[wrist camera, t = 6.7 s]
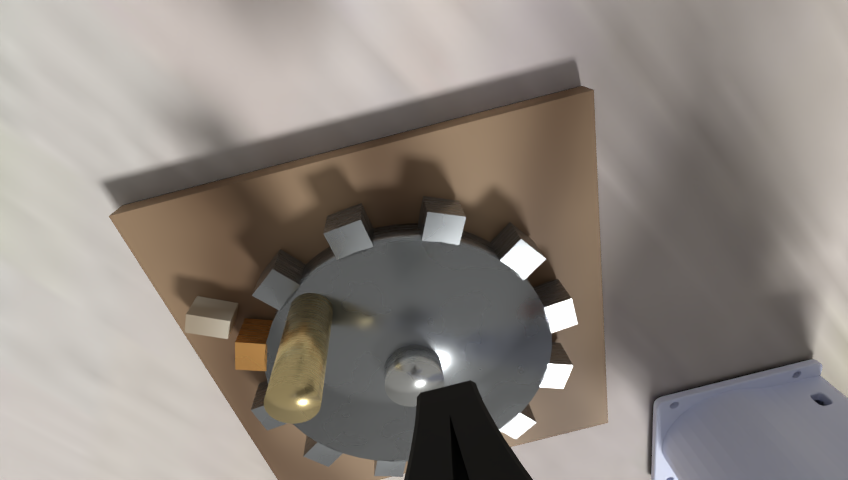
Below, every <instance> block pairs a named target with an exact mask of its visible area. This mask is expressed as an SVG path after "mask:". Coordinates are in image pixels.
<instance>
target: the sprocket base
mask: <svg viewBox="0 0 848 480" xmlns="http://www.w3.org/2000/svg"><path fill="white" fill-rule="evenodd" d="M423 196H427V197H435V198H442V199H450V200H457V201H459V202H460V204H461V207H462V209H463V211H464V213H465V215H466V220H465V224H464V228H463V231H466V232H469V233H472V234H474V235H477V236H479V237H481V238H483V239H485V240H487V241H489V242H491V241H492V240H493V239H494V238H495V237H496V236H497V235H498V234H499V233H500V231H501V230H502V229H503V228H504V227H505V226H506V225H507V224H508V223H509V222H511V223H512V224H513V225H514V226H516V227H517V228H518V229H519V230H521V231H522V232H523V233H524V234H526V235H527V236H528V237H529V238H530V239H532V240H533V241H534V242H535V244H536V245H537V247H538V248H539V250H540V251H541V252H542V254H543V255H544V257H545V258H546V260H544V261H543V262H542V263H541V264H540V265H539V266H538V267H537V268H536V269H535V270H534V271H533V272H532V273H531V274H530V275H529V276H528V277H527V278H528V280H529V281H530V283H531V285H532V287H535V286H538V285H541V284H544V283H546V282H549V281H552V280H555V279H559V281H560V282H561V284H562V285H563V287H564V288H565V290H566V291H567V292H568V294H569V295H570V297H571V298H572V302H573V306H574V310H575V315H576V319H577V323H578V324H576V325H573V326H570V327H567V328H564V329H561V330H558V331H555V332H552V342H556V343H561V345H562V347H563V348H564V350H565V352H566V354H567V355H568V357H569V359H570V361H571V362H572V364H573V367H572V369H571V372H570V374H569V376H568V379H567V381H566V383H565V386H564V388H563V389H561V388H544V387H540V388H539V390H538V391H537V393H536V394H535V396H534V397H533V399H532V400H531V401H530V403H529V405H530V408H531V410H532V413H533V415H534V418H535V420H536V423H535V424H534V425H533V426H532V427H530V428H529V429H528V430H527V431H525V432H524V433H523V434H522V435H521V436H519V437H518V438H517V439H514V438H512V437H510V436H509V435H507V434H505V433H503V432H501V431H500V432H501V434H502V435H503V437H504V439H505V440H506V442H507V443H508V445H509V446H510V447H512V446H516V445H520V444H525V443H529V442H533V441H537V440H541V439H545V438H549V437H553V436H557V435H561V434H565V433H569V432H573V431H577V430H581V429H585V428H589V427H593V426H597V425H601V424H605V423H608V410H607V387H606V364H605V341H604V317H603V294H602V271H601V248H600V225H599V202H598V179H597V156H596V133H595V109H594V90H592V89H589V88H586V87H583V86H579V87H576V88H572V89H568V90H564V91H560V92H556V93H553V94H549V95H545V96H541V97H537V98H533V99H530V100H526V101H522V102H518V103H514V104H510V105H507V106H503V107H499V108H495V109H491V110H487V111H483V112H480V113H476V114H472V115H468V116H464V117H460V118H457V119H453V120H449V121H445V122H441V123H437V124H434V125H430V126H426V127H422V128H418V129H414V130H411V131H407V132H403V133H399V134H395V135H391V136H387V137H384V138H380V139H376V140H372V141H368V142H364V143H361V144H357V145H353V146H349V147H345V148H341V149H338V150H334V151H330V152H326V153H322V154H318V155H315V156H311V157H307V158H303V159H299V160H295V161H291V162H288V163H284V164H280V165H276V166H272V167H268V168H265V169H261V170H257V171H253V172H249V173H245V174H242V175H238V176H234V177H230V178H226V179H222V180H218V181H215V182H211V183H207V184H203V185H199V186H195V187H192V188H188V189H184V190H180V191H176V192H172V193H169V194H165V195H161V196H157V197H153V198H149V199H146V200H142V201H138V202H134V203H130V204H126V205H123V206H121V207H120V208H119V209H117V210H116V211H115V212H114V213H112V214H111V215H110V216H109V217H110V219H111V220H112V222H113V223H114V225H115V227H116V228H117V230H118V231H119V233H120V234H121V236H122V238H123V239H124V241H125V242H126V244H127V245H128V247H129V248H130V250H131V252H132V253H133V255H134V256H135V258H136V259H137V261H138V262H139V264H140V266H141V267H142V269H143V270H144V272H145V273H146V275H147V276H148V278H149V280H150V281H151V283H152V284H153V286H154V287H155V289H156V291H157V292H158V294H159V295H160V297H161V298H162V300H163V301H164V303H165V305H166V306H167V308H168V309H169V311H170V312H171V314H172V315H173V317H174V319H175V320H176V322H177V323H178V325H179V326H180V328H181V329H182V331H183V333H184V334H185V336H186V337H187V339H188V340H189V342H190V344H191V345H192V347H193V348H194V350H195V351H196V353H197V354H198V356H199V358H200V359H201V361H202V362H203V364H204V365H205V367H206V368H207V370H208V372H209V373H210V375H211V376H212V378H213V379H214V381H215V382H216V384H217V386H218V387H219V389H220V390H221V392H222V393H223V395H224V396H225V398H226V400H227V401H228V403H229V404H230V406H231V407H232V409H233V411H234V412H235V414H236V415H237V417H238V418H239V420H240V421H241V423H242V425H243V426H244V428H245V429H246V431H247V432H248V434H249V435H250V437H251V439H252V440H253V442H254V443H255V445H256V446H257V448H258V449H259V451H260V453H261V454H262V456H263V457H264V459H265V460H266V462H267V464H268V465H269V467H270V468H271V470H272V471H273V473H274V474H275V476H276V478H277V479H278V480H380V479H384V478H388V477H392V476H374V460H370V459H364V458H358V457H354V456H351V455H347V454H342V455H341V456H340V457H339V458H338V459H337V460H335V461H334V462H333V463H332V464H331V465H330V466H329V467H327V466H325V465H323V464H320V463H318V462H315V461H313V460H311V459H308V458H306V457H303V455H304V449H305V442H306V436H307V435H305V434H304V433H303V432H301V431H300V430H299V429H298V428H297V427H296V426H294V425H293V424H290V423H288V424H285V425H282V426H279V427H276V428H273V429H270V430H266V429H265V427H264V426H263V425H262V424H261V422H260V421H259V420H258V419H257V417H256V416H255V415H254V414H253V412H252V411H251V407H252V404H253V401H254V398H255V394H256V391H257V388H258V385H259V384H260V383H262V382H265V381H267V378H266V374H265V371H252V370H235V341H236V339H237V336H238V334H239V331H240V329H241V327H242V324H243V322H244V319H245V318H248V319H261V320H273V319H274V316H275V313H276V308H274V307H272V306H270V305H268V304H266V303H265V302H263V301H261V300H259V299H257V298H255V297H254V296H252V294H253V292H254V289H255V287H256V285H257V282H258V280H259V277H260V275H261V273H262V272H263V271H264V269H265V268H266V267H267V266H268V264H269V263H270V262H271V261H272V259H273V258H274V257H275V255H276V254H277V253H278V252H279V250H280V249H281V250H283V251H284V252H286V253H288V254H289V255H291V256H293V257H294V258H296V259H297V260H299V261H301V262H302V263H304V264H307V263H308V262H309V261H310V260H312V259H313V258H314V257H315V256H317V255H318V254H319V253H320V252H322V251H323V250H325V249H327V248H328V247H330V245H329V244H328V242H327V240H326V238H325V236H324V234H323V232H324V228H325V223H326V219H327V216H328V215H331V214H334V213H336V212H339V211H342V210H344V209H347V208H350V207H352V206H355V205H358V204H360V203H362V205H363V207H364V209H365V211H366V214H367V216H368V218H369V220H370V222H371V224H372V226H373V228H377V227H383V226H388V225H394V224H408V223H418V220H419V214H420V209H421V204H422V199H423ZM407 464H408V461H406V465H405V469H404V473H406V469H407ZM404 473H403V474H404Z"/></svg>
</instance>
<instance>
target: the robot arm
mask: <svg viewBox="0 0 848 480" xmlns="http://www.w3.org/2000/svg"><path fill="white" fill-rule="evenodd" d="M821 371H822V364H821V363H819V362H818V361H817V360H814V359H811V360H806V361H802V362H798V363H794V364H790V365H786V366H782V367H778V368H774V369H770V370H766V371H762V372H758V373H754V374H750V375H746V376H742V377H738V378H734V379H730V380H726V381H722V382H718V383H714V384H710V385H706V386H702V387H698V388H694V389H690V390H686V391H682V392H678V393H674V394H670V395H666V396H662V397H659V398H658V399H656V400H655V402H654V405H653V437H652V470H651V479H652V480H848V398H847V397H846V396H845V395H843V394H842V393H841V392H840V391H839V390H837V389H836V388H835V387H834V386H832V385H831V384H830V383H829V382H827V381H826V380H825V379H824V378H822V377H821V376H820V375H821ZM404 480H533V479H532V478H531V476H530V475H529V474H528V472H527V471H526V470H525V468H524V467H523V465H522V464H521V462H520V461H519V460H518V458H517V457H516V455H515V454H514V452H513V451H512V449H511V448H510V446H509V445H508V443H507V442H506V440H505V439H504V437H503V435H502V434H501V432H500V431H499V429H498V427H497V426H496V424H495V422H494V420H493V419H492V417H491V415H490V413H489V411H488V410H487V408H486V406H485V404H484V402H483V400H482V397H481V395H480V393H479V390H478V388H477V385H476V383H475V382H473V381H471V380H469V381H465V382H461V383H457V384H453V385H449V386H445V387H441V388H437V389H433V390H429V391H425V392H421V393H420V394H419V395H418V396H417V405H416V417H415V425H414V432H413V438H412V444H411V450H410V455H409V460H408V464H407V469H406V474H405V479H404Z"/></svg>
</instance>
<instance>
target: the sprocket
mask: <svg viewBox="0 0 848 480" xmlns="http://www.w3.org/2000/svg"><path fill="white" fill-rule="evenodd" d="M465 220H466V215H465V213H464V211H463V209H462V207H461V204H460V202H459V201H457V200H450V199H442V198H435V197H427V196H423V199H422V204H421V209H420V214H419V220H418V223H408V224H394V225H388V226H383V227H377V228H373V226H372V224H371V222H370V220H369V218H368V216H367V214H366V211H365V209H364V207H363V205H362V203H360V204H358V205H355V206H352V207H350V208H347V209H344V210H342V211H339V212H336V213H334V214H331V215H328V216H327V219H326V223H325V228H324V232H323V234H324V236H325V238H326V240H327V242H328V244H329V245H330V247H328V248H327V249H325V250H323V251H322V252H320V253H319V254H318V255H317V256H315V257H314V258H313V259H312V260H310V261H309V262H308V263H307V264H304V263H302V262H301V261H299V260H297V259H296V258H294V257H293V256H291V255H289V254H288V253H286V252H284V251H283V250H281V249H280V250H279V252H278V253H277V254H276V255H275V257H274V258H273V259H272V261H271V262H270V263H269V264H268V266H267V267H266V268H265V269H264V271H263V272H262V273H261V275H260V277H259V280H258V282H257V285H256V287H255V289H254V292H253V294H252V296H254V297H255V298H257V299H259V300H261V301H263V302H265V303H266V304H268V305H270V306H272V307H274V308H276V313H275V316H274V319H273V320H261V319H248V318H245V319H244V322H243V324H242V327H241V329H240V331H239V334H238V336H237V339H236V341H235V370H252V371H265V374H266V378H267V381H265V382H262V383H260V384H259V385H258V388H257V391H256V394H255V398H254V401H253V404H252V407H251V411H252V412H253V414H254V415H255V416H256V417H257V419H258V420H259V421H260V422H261V424H262V425H263V426H264V427H265V429H266V430H270V429H273V428H276V427H279V426H282V425H285V424H288V423H290V424H293V425H294V426H296V427H297V428H298V429H299V430H300V431H301V432H303V433H304V434H305V435H307V436H306V442H305V449H304V455H303V457H306V458H308V459H311V460H313V461H315V462H318V463H320V464H323V465H325V466H327V467H329V466H330V465H331V464H332V463H333V462H334V461H335V460H337V459H338V458H339V457H340V456H341V455H342V454H347V455H351V456H354V457H358V458H364V459H370V460H374V476H396V477H403V473H404V469H405V465H406V461H408V460H409V455H410V450H411V444H412V438H413V432H414V425H415V417H416V405H417V396H418V395H419V394H420V393H421V392H425V391H429V390H433V389H437V388H441V387H445V386H449V385H453V384H457V383H461V382H465V381H469V380H471V381H473V382H475V383H476V385H477V388H478V390H479V393H480V395H481V397H482V400H483V402H484V404H485V406H486V408H487V410H488V411H489V413H490V415H491V417H492V419H493V420H494V422H495V424H496V426H497V427H498V429H499V431H501V432H503V433H505V434H507V435H509V436H510V437H512V438H514V439H517V438H518V437H519V436H521V435H522V434H523V433H524V432H525V431H527V430H528V429H529V428H530V427H532V426H533V425H534V424H535V423H536V420H535V418H534V415H533V413H532V410H531V408H530V405H529V403H530V401H531V400H532V399H533V397H534V396H535V394H536V393H537V391H538V390H539V388H540V387H544V388H561V389H563V388H564V386H565V383H566V381H567V379H568V376H569V374H570V372H571V369H572V367H573V364H572V362H571V361H570V359H569V357H568V355H567V354H566V352H565V350H564V348H563V347H562V345H561V343H556V342H552V332H555V331H558V330H561V329H564V328H567V327H570V326H573V325H576V324H578V323H577V319H576V315H575V310H574V306H573V302H572V298H571V297H570V295H569V294H568V292H567V291H566V290H565V288H564V287H563V285H562V284H561V282H560V281H559V279H555V280H552V281H549V282H546V283H544V284H541V285H538V286H535V287H532V285H531V283H530V281H529V280H528V278H527V277H528V276H529V275H530V274H531V273H532V272H533V271H534V270H535V269H536V268H537V267H538V266H539V265H540V264H541V263H542V262H543V261H544V260H546V258H545V257H544V255H543V254H542V252H541V251H540V250H539V248H538V247H537V245H536V244H535V242H534V241H533V240H532V239H530V238H529V237H528V236H527V235H526V234H524V233H523V232H522V231H521V230H519V229H518V228H517V227H516V226H514V225H513V224H512V223H511V222H509V223H508V224H507V225H506V226H505V227H504V228H503V229H502V230H501V231H500V233H499V234H498V235H497V236H496V237H495V238H494V239H493V240H492V241H491V242H489V241H487V240H485V239H483V238H481V237H479V236H477V235H474V234H472V233H469V232H466V231H463V228H464V224H465Z"/></svg>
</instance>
